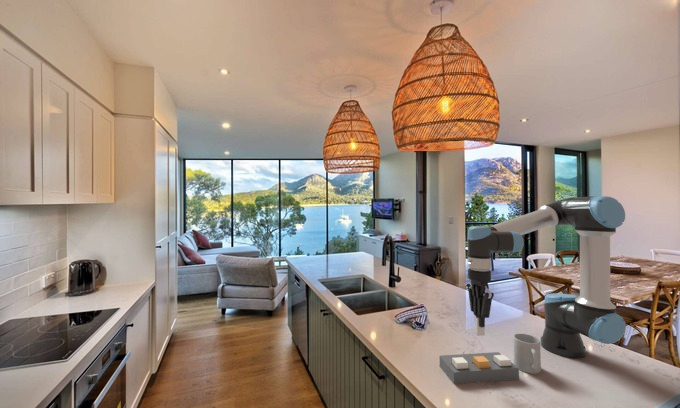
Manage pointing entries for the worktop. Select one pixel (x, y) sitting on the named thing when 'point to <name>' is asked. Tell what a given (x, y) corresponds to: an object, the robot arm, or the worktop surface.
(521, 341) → the mug
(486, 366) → the button orange
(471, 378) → the grey button panel
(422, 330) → the worktop surface
